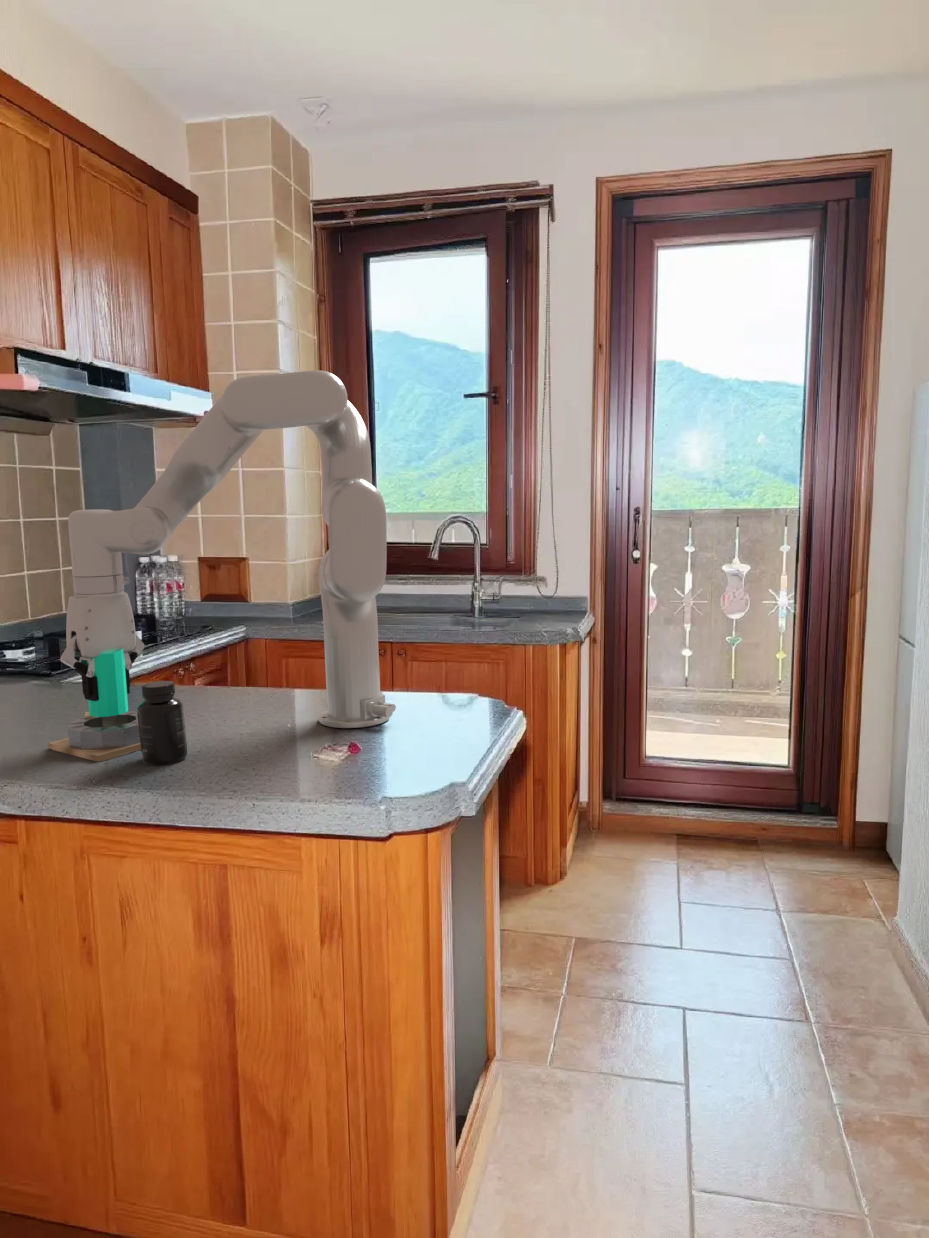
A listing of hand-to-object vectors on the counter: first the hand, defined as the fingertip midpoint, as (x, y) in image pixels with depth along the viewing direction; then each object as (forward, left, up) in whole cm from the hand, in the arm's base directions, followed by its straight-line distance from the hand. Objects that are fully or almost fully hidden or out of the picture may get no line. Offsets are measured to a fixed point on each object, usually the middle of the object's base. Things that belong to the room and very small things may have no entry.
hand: (107, 695), depth 144 cm
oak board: (0, 0, -8) cm, 8 cm away
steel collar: (0, 0, -8) cm, 8 cm away
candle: (0, 0, -3) cm, 3 cm away
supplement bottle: (-15, +1, -9) cm, 17 cm away
